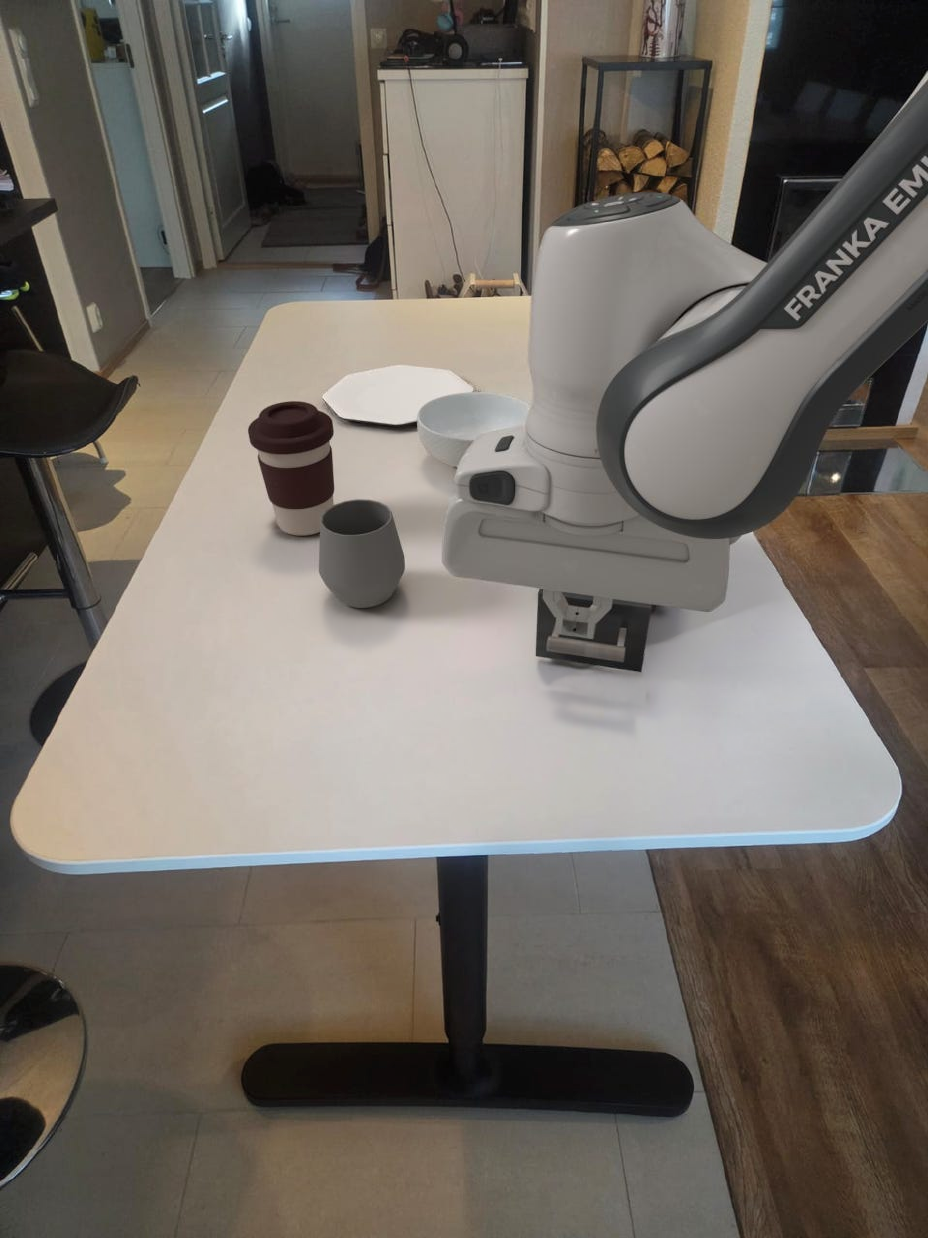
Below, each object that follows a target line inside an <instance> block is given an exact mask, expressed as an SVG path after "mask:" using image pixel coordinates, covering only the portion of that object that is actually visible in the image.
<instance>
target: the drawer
mask: <svg viewBox="0 0 928 1238" xmlns="http://www.w3.org/2000/svg"><path fill="white" fill-rule="evenodd" d="M563 595H564V597H565V599H566V601H567V603H568V605H571V606H577V607H585V608H590V606H591V605H592V604H593V596H589V595H582V594H575V593H568V592H563ZM651 605H652V604H646V603H638V602H631V601H624V600H617V599H613V603H612V608H611V609H610V610H609V611H608V612H607V613H606V614H605V615H604V616H603V617H602V618H601V619H600V620H599V621H598V622H597V623H596V629H595V633H594V638H593V639H588V638H582V637H576V636H568V635H562V634H556V633H555V629H556V617H554V615H553V614H552V612H551V611H550V609H549V608H548V606H547V605H546V603H545V601H544V600H543V589H539V588H538V592H537V609H536V610H537V612H536V613H537V614H536V633H535V657H537V658H543V659H544V658H545V659H551V660H557V661H563V662H564V661H565V662H569V663H570V662H571V663H576V664H583V665H588V666H589V665H590V666H596V667H603V668H609V669H615V670H623V671H628V672H629V671H630V672H635V673H642V671H643V666H644V665H643V664H644V659H645V651H646V646H647V645H646V644H647V637H648V631H649V624H650V619H651V612H652V610H651Z"/></svg>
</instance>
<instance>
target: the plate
mask: <svg viewBox="0 0 928 1238" xmlns="http://www.w3.org/2000/svg"><path fill="white" fill-rule="evenodd" d="M466 392H475V388H474V386H472V385H471V384H469V383H468V382H467V381H465V380H464V379H462V378H461V377H460V376H458V375H457V374H455V373H454V371H451V370H449V369H445V368H435V367H425V366H417V365H415V366H414V365H405V364H395V365H394V364H393V365H389V366H384V367H380V368H374V369H369V370H364V371H363V370H362V371H358V372H353V373H349V374H347V375H345V376H343V377H342V378H341V379H340V380H338V381H337V383H335V384H334V385H332V387H330V388H329V389H328V390H327V391H325V392H324V393H323V394H322V396H321V399H322V401H323V402H325V403H326V405H327V406H328V407H329V408H330V409H331V410H332V411H333V412H334V413H335V415H336V416H338V418H339V419H341V420H343V421H351V422H357V423H358V422H359V423H365V424H366V423H367V424H374V425H382V426H389V427H404V426H407V425H408V426H409V425H413V424H417V414H418V411H419V409H420V408H421V407H422V406H423V405H424V404H426V403H427V402H429V401H431V400H433V399H436V398H439V397H442V396H446V395H450V394H456V393H466Z"/></svg>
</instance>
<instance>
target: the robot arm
mask: <svg viewBox="0 0 928 1238" xmlns="http://www.w3.org/2000/svg"><path fill="white" fill-rule="evenodd" d="M540 241H541V242H540V244H539V249H538V252H537V257H536V261H535V268H534V272H533V280H532V288H531V297H530V307H529V308H530V309H529V319H528V333H527V334H528V335H527V365H528V369H529V373H530V377H531V385H532V394H531V399H530V403H529V405H530V406H529V408H528V411H527V415H526V420H525V424H524V425H520V426H515V427H510V428H506V429H501V430H496V431H490V432H486V433H483V434H481V435H479V436H478V437H477V438H476V439H475V440H474V441H473V443H472V444H471V445H470V446H469V448H468V449H467V451H466V452H465V454H464V455H463V457H462V459H461V461H460V463H459V465H458V468H456V470H455V474H454V477H453V488H454V495H453V496H452V499H451V500H450V503H449V505H448V506H447V509H446V512H445V514H444V520H443V521H444V522H443V524H442V525H443V528H442V536H441V563H442V566H443V567H444V568H445V570H447V571H448V573H449V574H450V575H451V576H453V577H455V578H459V579H469V580H475V581H482V582H491V583H495V584H497V583H498V584H504V585H511V586H518V587H526V588H533V589H538V590H539V589H543V600H544V601H545V603H546V605H547V606H548V608H549V609H550V611H551V612H552V614H553V615H554V617H556V629H555V633H556V634H562V635H568V636H576V637H582V638H588V639H593V638H594V633H595V629H596V623H597V622H598V621H599V620H600V619H601V618H602V617H603V616H604V615H605V614H606V613H607V612H608V611H609V610H610V609H611V608H612V603H613V599H617V600H624V601H631V602H638V603H646V604H653V605H657V606H661V607H668V608H675V609H682V610H689V611H696V612H702V613H711V612H712V611H714V610H715V609H717V608H718V607H720V606H721V605H723V604H724V603H725V600H726V597H727V591H728V583H729V573H730V558H731V557H730V556H731V545H734V543H736V542H737V541H738V540H740V538H741V537H742V536H745V535H747V534H750V533H753V532H755V531H758V530H760V529H762V528H763V527H765V526H767V525H769V524H770V523H771V522H773V521H775V520H776V519H778V518H779V516H780V515H782V513H783V514H784V512H785V511H786V510H787V509H788V507H790V505H791V504H792V503H793V501H794V500H795V499H796V497H797V495H798V494H799V493H800V490H801V489H802V487H803V485H804V484H805V481H806V479H807V477H808V474H809V472H810V470H811V468H812V465H813V463H814V461H815V458H816V455H817V453H818V451H819V449H820V446H821V444H822V441H823V439H824V437H825V435H826V433H827V431H828V429H829V428H830V426H831V424H832V422H833V420H834V419H835V417H836V416H837V415H838V413H839V412H840V410H841V409H842V408H843V407H844V405H846V403H847V402H848V400H849V399H850V398H851V397H852V396H854V394H855V393H856V391H857V390H858V389H859V388H860V387H861V386H862V385H863V384H864V383H865V382H866V381H867V380H868V379H869V378H870V377H871V376H872V375H873V374H874V373H875V372H876V371H878V370H879V368H880V367H881V366H883V364H885V362H886V361H888V360H889V359H890V358H891V357H892V356H893V355H894V354H895V353H896V352H897V351H898V350H899V349H901V347H903V345H905V343H907V342H908V341H909V340H910V339H911V338H912V337H913V336H914V335H915V334H917V332H918V331H920V329H922V327H923V326H925V325H926V324H927V323H928V70H927V71H926V72H925V74H924V76H923V78H922V79H921V80H920V82H919V83H918V84H917V86H916V88H915V89H914V90H913V92H912V93H911V94H910V96H909V97H908V98H907V100H906V101H905V102H904V104H903V105H902V107H900V109H899V110H898V112H897V113H896V115H895V116H894V117H893V118H892V119H891V121H890V122H889V123H888V124H887V126H886V127H885V128H884V129H883V131H882V132H881V133H880V134H879V135H878V137H876V139H875V140H874V141H873V142H872V144H870V146H868V148H867V149H866V150H865V152H864V153H863V154H862V155H861V156H860V157H859V158H858V160H857V161H856V162H855V163H854V164H853V166H851V168H850V169H848V171H847V172H846V173H845V175H844V176H843V177H842V178H841V179H840V180H839V181H838V182H837V184H836V185H835V186H834V187H833V188H832V189H831V190H830V192H829V193H827V195H826V196H825V198H823V199H822V201H821V202H820V203H819V204H818V205H817V207H816V208H815V209H814V210H813V211H812V212H811V213H810V214H809V216H808V217H807V218H806V219H805V220H804V221H803V223H802V224H801V225H800V226H799V227H798V228H797V229H796V231H795V232H794V233H793V234H792V235H791V236H790V238H789V239H787V241H786V242H785V243H784V244H783V245H782V246H781V247H780V249H779V250H778V251H777V252H776V253H775V254H774V255H773V257H772V258H771V259H770V260H769V261H768V262H766V261H763V260H761V259H759V258H757V257H755V256H753V255H751V254H749V253H747V252H745V251H743V250H741V249H739V248H738V247H736V246H734V245H732V244H731V243H730V242H729V241H727V240H725V239H724V238H722V237H721V236H719V234H718V235H717V234H716V233H715V232H714V231H712V230H711V229H710V228H708V227H707V226H706V225H704V223H702V221H700V220H699V219H698V218H697V216H696V215H695V214H694V212H693V211H692V209H691V208H690V207H689V206H688V205H687V203H686V202H685V201H684V200H682V199H681V198H680V197H678V196H675V195H671V194H670V193H664V192H654V191H645V192H631V193H626V194H617V195H611V196H607V197H603V198H602V199H598V200H594V201H593V200H592V201H587V202H585V203H583V204H580V205H578V206H576V207H573V208H572V209H570V210H568V211H567V212H565V213H563V214H562V215H560V216H559V217H558V218H556V219H555V220H554V221H553V222H551V225H550V226H549V227H548V228H546V230H545V231H544V234H543V236H542V239H541V240H540ZM563 592H568V593H575V594H582V595H589V596H593V604H592V605H591V606H590V608H585V607H577V606H571V605H568V603H567V601H566V599H565V597H564V595H563Z"/></svg>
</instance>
